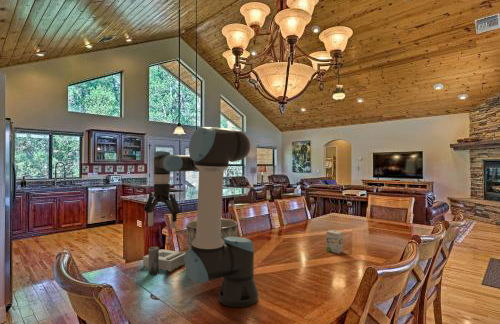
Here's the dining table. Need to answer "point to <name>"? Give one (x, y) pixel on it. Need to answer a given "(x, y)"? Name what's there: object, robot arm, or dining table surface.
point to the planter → (227, 230)
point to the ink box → (334, 241)
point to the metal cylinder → (153, 260)
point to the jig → (167, 259)
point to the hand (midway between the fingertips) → (161, 227)
